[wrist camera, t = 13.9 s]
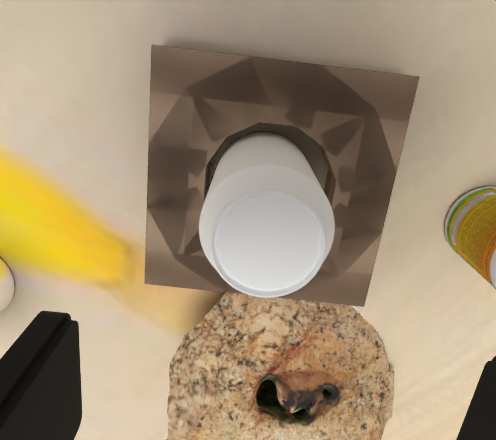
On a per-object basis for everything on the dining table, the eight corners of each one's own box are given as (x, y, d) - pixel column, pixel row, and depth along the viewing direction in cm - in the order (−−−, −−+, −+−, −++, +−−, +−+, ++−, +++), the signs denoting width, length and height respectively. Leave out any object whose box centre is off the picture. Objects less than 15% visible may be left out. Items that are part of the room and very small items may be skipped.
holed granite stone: (352, 262, 38) (415, 283, 31) (341, 412, 40) (398, 465, 33) (151, 270, 32) (173, 301, 25) (147, 450, 33) (167, 528, 26)
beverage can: (211, 134, 28) (182, 183, 17) (305, 124, 28) (340, 167, 16) (222, 221, 30) (204, 316, 19) (310, 213, 30) (344, 305, 19)
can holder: (162, 46, 26) (151, 44, 23) (401, 75, 26) (419, 76, 24) (154, 263, 31) (144, 283, 29) (354, 285, 32) (363, 306, 29)
